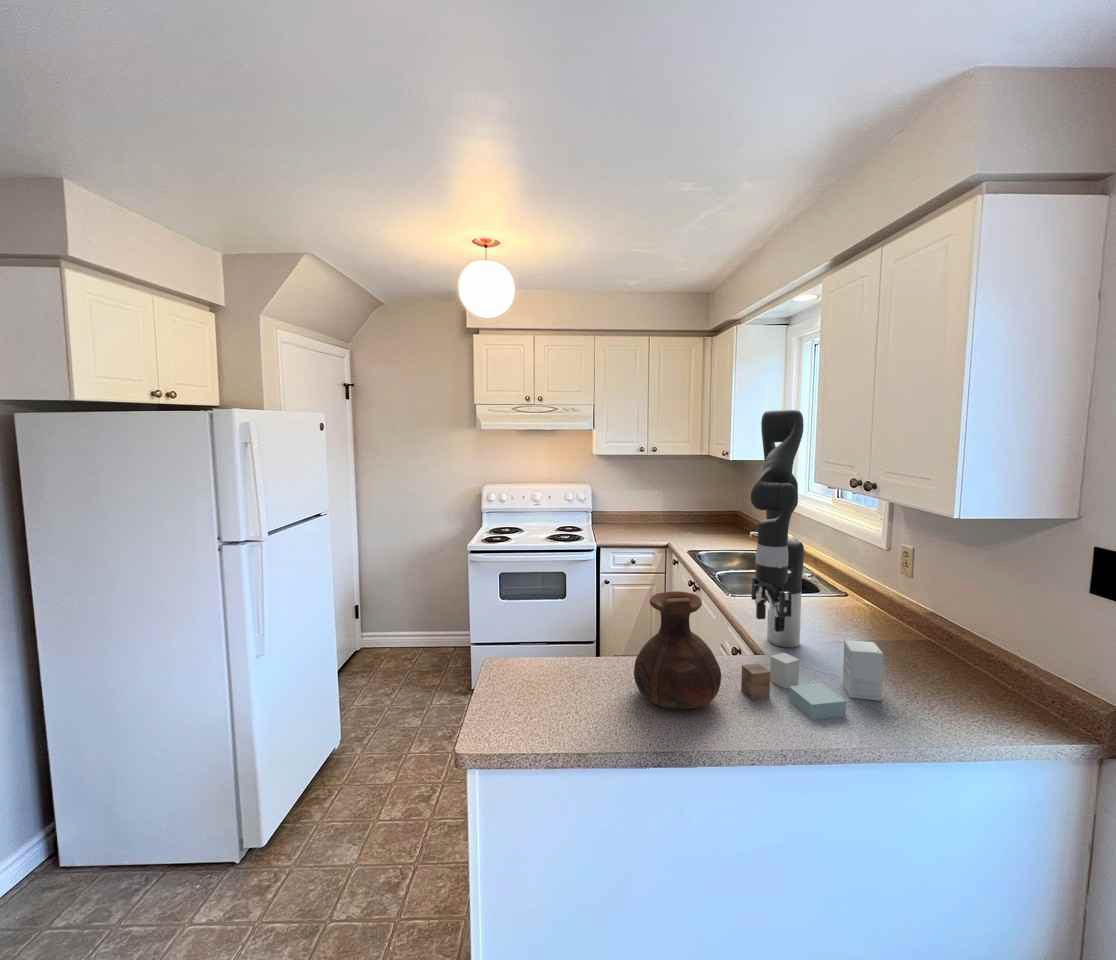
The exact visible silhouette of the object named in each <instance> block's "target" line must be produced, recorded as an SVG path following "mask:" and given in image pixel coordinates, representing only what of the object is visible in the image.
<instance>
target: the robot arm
mask: <svg viewBox="0 0 1116 960" xmlns="http://www.w3.org/2000/svg"><path fill="white" fill-rule="evenodd" d="M760 423H761V430H760V431H761V439H762V440H761V441H762V450H763V459H764V462H763V469H762V473H761V475H760V477H759V478H758V479H757V481H755V483H754V485H753V487H752V489H751V492H750V502H751V505H752V507H754V508H755V509H756V510H759V511H765V513H766V517H765V518H766V519H763V520H760V521H759V522H758V524H757V539H756V540H757V541H756V542H757V543H756V551H755V575H754V577H752V578H751V579H752V580H751V595H750V596H751V600H752V601H754V604H755V605H756V610H755V611H756V614H755V617H756V619H758V620H765V619H766V610H767V608H766V607H767V606H766V603H767V602H768V604H769V608H768V610H767V629H766V630H767V634H766V636H767V639H768V642H769V643H770V644H772V645H774V646H777V647H782V648H796V647H799V646H800V643H801V642H800V641H801V619H802V617H801V615H802V593H803V592H802V590H803V589H802V585H803V570H804V569H803V567H804V558H805V557H804V556H805V547H804V544H803V542H801V541H800V540H792V539H791V540H790V539H789V527H790V520H791V518H792V515H793V513H794V511H795V510H796V508H797V506H798V504H799V484H798V481H797V478H796V477H795V475H794V474H793V468H794V462H795V458H796V456H797V452H798V450H799V447H800V446H801V445H800V444H801V441H802V438H803V434H804V416H803V413H802V412H801V411H800V410H799V409H781V410H768V411H764V412H763V414H762V416H761V421H760ZM776 443H780V444H778V445H777V446H776ZM789 570H790V572H789Z"/></svg>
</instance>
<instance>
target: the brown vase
mask: <svg viewBox="0 0 1116 960" xmlns="http://www.w3.org/2000/svg"><path fill="white" fill-rule="evenodd" d="M702 601H703V600H702V598H701V597H700V596H699V595H697V594H695V593H693V592H692V593H691V592H686V591H679V590H678V591H677V590H675V591H664V592H659V593H658V592H657V593H656V594H653V595H652V596H651V597H650V598H649V604H650V606H651V607H652V608H653V609H655V610H657V611H658V612H659V613H660V628H659V631H658V632H657V633H656V634H654V635H653V636H652V637H651V638H650V639H648V640H647V642H645V644H644V645H643V646H642V648H641V649H640V651H639V653H638V655H637V656H636V658H635V662H634V666H633V667H634V668H633V676H634V677H633V678H634V681H635V684H636V687H637V689H638V691H639V693H640V694H642V695H643V697H645V698H646V699H647V700H648V701H649V702H652V703H653V704H655V705H658V706H659V707H661V708H665V709H669V710H670V709H671V710H689V709H696V708H702V707H704V706H706V705H708V704H710V703H711V702H713V700H714V699H715V698H716V697H717V695H718V693H719V691H720V688H721V683H722V671H721V668H720V665H719V663H718V661H717V658H716V657H715V655H714V653H713V651H712V650H711V648H710V647H709V645H707V643H706V642H705V641H704V640H703V639H702V638H701V637H699V635H697V634H695V632H692V630H691V624H690V615H691V614H693V613H695V612H697V611H698V610H699V609H700V608H701V607H702V605H703V603H702Z"/></svg>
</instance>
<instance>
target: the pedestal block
mask: <svg viewBox="0 0 1116 960" xmlns="http://www.w3.org/2000/svg"><path fill="white" fill-rule="evenodd" d="M788 701H789V702H790V703H791V704H793V705H794V706H795V707H796V708H797V709H798V710H799V711H801V712H802V713H803V714H804V715H805V716H807V717H808V718H809V719H810V720H818V719H819V720H820V719H828V718H839V717H845V716H846V712H847V710H846V709H847V701H846V700H845V699H844V698H843V697H841V696H840V695H838V694H837V693H835V692H834V691H833V690H831V688H830V687H828V686H826V685H825V684H824V683H822V682H819V683H809V684H799V685H796V686H789V688H788Z"/></svg>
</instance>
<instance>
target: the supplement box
mask: <svg viewBox="0 0 1116 960" xmlns="http://www.w3.org/2000/svg"><path fill="white" fill-rule="evenodd" d="M842 664H843V665H842V667H843V669H842V686H843V688H844V689H845V691H846V693H847V695H848V696H849V698H850V699H860V700H869V701H879V702H881V701H882V689H883V668H884V667H883V666H884V652H882V650H881V649H880V648H879V647H878V645H877V644H876V643H875V642H874V641H861V640H860V641H859V640H849V639H844V641H843V663H842Z"/></svg>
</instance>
